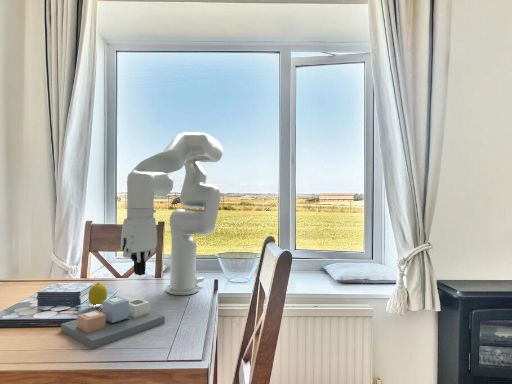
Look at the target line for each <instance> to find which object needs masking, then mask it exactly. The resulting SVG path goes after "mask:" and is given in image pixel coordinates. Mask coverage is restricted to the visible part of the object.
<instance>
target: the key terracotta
mask: <svg viewBox="0 0 512 384" xmlns="http://www.w3.org/2000/svg"><path fill="white" fill-rule="evenodd" d="M101 312H102V311H98V310H96V309H95V310H92V311H89V312H85V313H80V314H78V315H77V329H79V330H81V331H83V332H85V333H89V332H92V331H96V330H99V329H102V328H105V321H106V315H105V314H103V313H101Z"/></svg>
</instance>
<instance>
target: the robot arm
mask: <svg viewBox="0 0 512 384" xmlns="http://www.w3.org/2000/svg"><path fill="white" fill-rule="evenodd" d="M222 157H223V146H222V145H221V143H220V142H219V140H217V139H216V138H214V137H212V135H209V134H207V133H204V132H181V133H179V134H177V135H176V136H175V137H173V139H172V140H171V142H170V143H169V144H168V145H167V146H166V148H165V149H164V150H162V151H160V152H159V153H156V154H153V155H152V156H149V157H147V158H145V159H143V160H142V161H140V162H139V163H138V164H137V165H136V166H135V167H134V168H133V169H132V170H131V171H130V173H128V175H127V181H126V189H127V190H126V218H124V219H123V222H122V228H121V235H120V250H121V251H122V252H123V254H122V257H123V258H127V259H131V261H132V262H133V272H134V275H136V276H144V275H146V266H147V265H146V263H147V261H148V258H149V256H150V255H152V254H154V253H156V251H157V250H156V248H157V246H158V228H157V222H156V218H155V217H154V214H156V212H157V209H156V208H154V201H155V200H154V197H155V196H157V197H161V196H166V195H168V194H170V193H171V192H172V190H173V189H174V179H173V177H172V176H171V175H170V173H174V172H176V171H179V170H181V169H183V167H184V169H185V170H184V171H185V175H184V176H185V177H184V180H183V184H182V186H181V187H182V188H181V191H180V197H179V201H180V204H181V205H182V206H183V207H186V208H177V209H175V210H173V211H172V212H171V213H170V216H169V226H170V233H171V234H170V235H171V237H170V238H171V247H170V248H171V252H170V253H171V254H170V273H169V274H170V279H169V280H170V281H169V285H167V286H166V287H165V292H166V293H167V294H169V295H174V296H188V295H193V294H196V293H198V292H199V291H200V287H199V285H198V284H199V283H202V282H204V280H205V279H204V277H203V276H199V277H197V276H196V270H197V242H196V240H195V238H194V236H193V235H198V236H199V235H200V236H209V235H211V234H212V233H214V230H215V228H216V223H217V219H218V213H219V210H220V205H221V190H220V188H219V187H217V186H216V185H213V184H206V181H207V173H206V170H205V168H203V166H201V164H200V163H217V162H219V161H220V160H221V159H222Z"/></svg>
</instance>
